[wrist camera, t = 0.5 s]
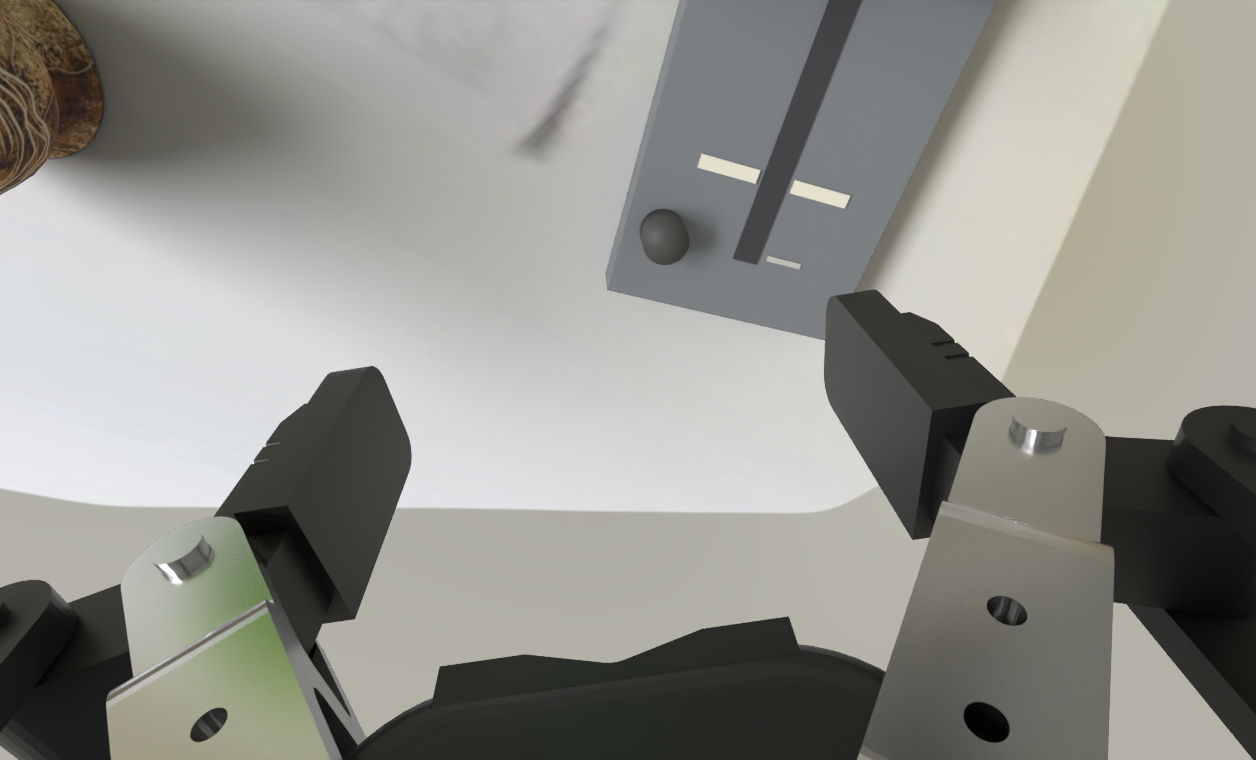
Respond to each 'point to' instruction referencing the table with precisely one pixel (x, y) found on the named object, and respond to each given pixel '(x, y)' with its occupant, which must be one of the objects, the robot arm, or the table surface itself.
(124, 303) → the table surface
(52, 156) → the vase
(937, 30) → the console
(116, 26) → the table surface
